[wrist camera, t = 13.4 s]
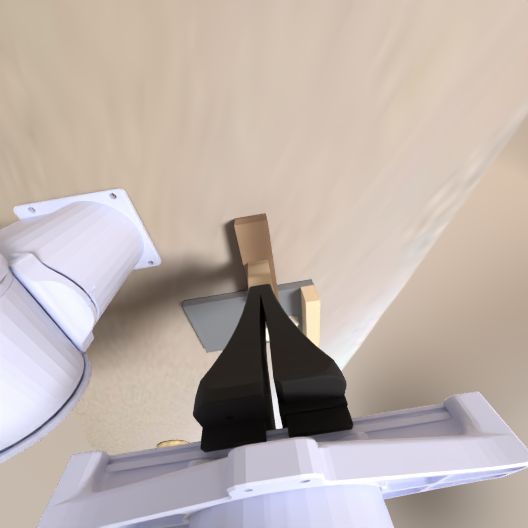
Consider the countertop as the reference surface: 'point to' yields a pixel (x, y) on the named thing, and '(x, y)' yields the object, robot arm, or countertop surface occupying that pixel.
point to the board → (231, 307)
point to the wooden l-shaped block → (256, 251)
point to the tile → (290, 318)
